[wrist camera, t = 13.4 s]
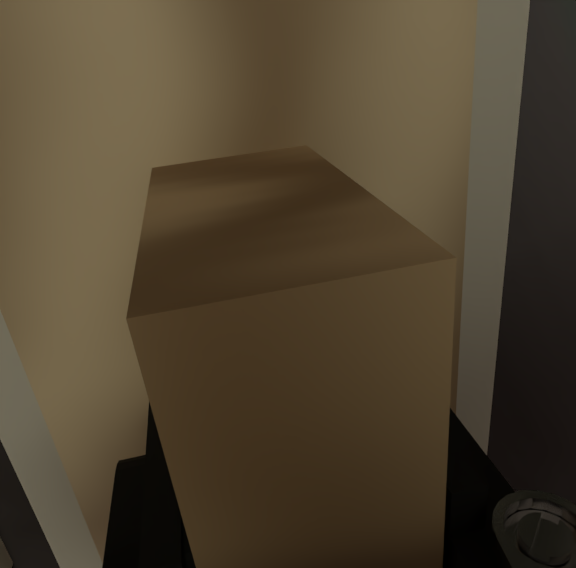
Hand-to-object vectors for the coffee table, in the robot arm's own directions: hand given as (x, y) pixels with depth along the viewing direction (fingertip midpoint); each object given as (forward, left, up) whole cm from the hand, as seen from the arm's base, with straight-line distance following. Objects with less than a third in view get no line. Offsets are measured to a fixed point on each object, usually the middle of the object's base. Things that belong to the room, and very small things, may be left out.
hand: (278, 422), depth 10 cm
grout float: (0, 0, -3) cm, 3 cm away
